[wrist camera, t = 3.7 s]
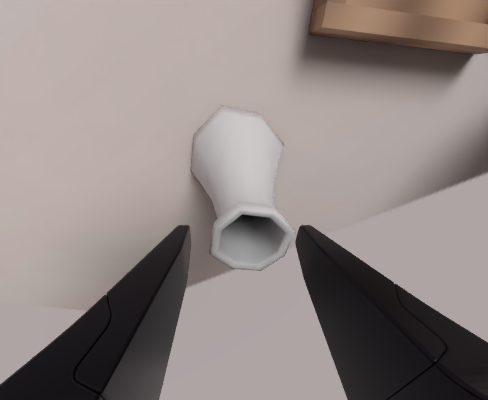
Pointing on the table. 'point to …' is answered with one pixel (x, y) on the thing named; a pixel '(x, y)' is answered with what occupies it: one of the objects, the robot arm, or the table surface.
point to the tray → (406, 22)
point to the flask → (241, 188)
